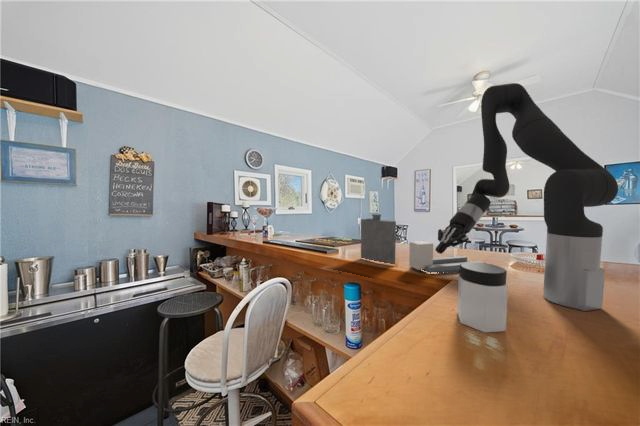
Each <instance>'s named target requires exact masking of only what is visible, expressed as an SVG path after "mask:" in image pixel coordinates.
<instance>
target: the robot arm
mask: <svg viewBox="0 0 640 426" xmlns="http://www.w3.org/2000/svg"><path fill="white" fill-rule="evenodd" d="M481 97H482V98H481V102H480V104H481V105H480V106H481V107H480V113H481V126H482V133H483V134H482V136H483V158H482V171H483V172H486V173H489V174H491V175H492V177H493V178H492V177H483V178H480V179H479V180H478V181H477V182H476V183H475V185H474V188H473V191H472V193H471V195H470V197H469V199H468V200H467V201H466V202H465V203H464V204H463V205H462V206H461V207H460V208H459V209H458V211H456V212H455V213H454V215H453V217H451V219H450V220H449V225H448V226H446V227H445V229H441V228H440V229H438V231H437V240H438V241H439V244H438V245H437V246H436V247H435V252H436V253H438V254H441V255H442V254H443V253H444V252H445V251H446V250H447V249H448V248H450V247H452V248H453V247H457V246H458V245H461V244H463V243H465V242H467V241H469V240H470V239H469V237H468V235H467V234H469V233H470V232H471V231H472V230H473V228H474V227H475V226H476V225H477V223H478V222H479V221H480V219H481V218H482V217H483V215H484V214H485V213H486V211H487V210H488V209H489V208H490V206H491V199H490V198H489V197H494V198H503V197H505V196H506V195H508V193H509V190H510V181H509V175H508V172H507V167H506V166H507V165H506V164H507V157H508V145H507V143H506V141H505V139H504V137H503V136H502V134H501V132H500V130H499V128H498V125H497V114H503V113H504V114H506V113H508V114H510V115H512V116H513V118H514V119H515V122H514V124H513V128H512V130H511V131H512V132H511V135H512V139H513V141H514V143H515V144H516V145H517V147H519V149H520V150H521V152H523V153H524V154H525V155H527V156H528V157H530V158H531V159H533V160H535V161H537V162H538V163H541V164H543V165H545V166H547V167H549V168H551V170H554V172H553V173H551V174H550V175H549V176H548V178H547V179H546V182H545V184H544V187H543V221H544V222H545V225H546V240H545V241H546V244H545V257H544V259H545V260H544V274H543V275H544V276H543V290H542V291H543V298H544V299H546V300H547V301H549V302H551V303H553V304H554V303H555V304H557V305H560V306H563V307H568V308H571V309H575V310H580V311H583V312H589V311H592V310H593V311H594V310H599V309H603V304H604V302H603V301H604V292H605V291H604V288H605V276H606V269H605V268H601V256H602V248H603V247H602V246H603V245H602V243H603V232H604V228H603V225H601V223H599V222H596V221H594V220H591V219H589V218H588V217H587V216H586V214H585V208H590V207H591V208H593V207H601V206H605V205H607V204H610V203H612V202H613V201H614V199H615V198H616V197H617V195H618V192H619V184H618V181H617V179H616V178H615V176H614V175H613V174H612V173H611V172H610V171H608V170H607V169H606V168H605V167H603V166H602V165H600V164H599V163H598V162H597V161H596V160H594V159H593V158H592V157H590V156H589V155H587V154H586V153H585V152H584V151H582V150H581V148H579V147H578V146H577V145H576V143H574V142H573V140H572V139H570V138H569V137H568V136H567V135H566V134H565V133H564V132H563V131H562V130H561V129H560V128H559V127H558V125H557V124H556V123H555V122H554V121H553V120H552V119H551V118H550V117H548V116H547V114H545V112H543V111H542V109H541V108H540V107H539V106H538V105H537V103H535V102H534V100H533V98H532V97H531V95H530V94H529V92H528V91H527V89H526V88H525V87H524V86H523V85H522V84H520V83H518V82H517V83H516V82H512V83H504V84H495V85H490V86H489V87H487V89H485V91H484V92H483V94H482V96H481Z"/></svg>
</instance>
